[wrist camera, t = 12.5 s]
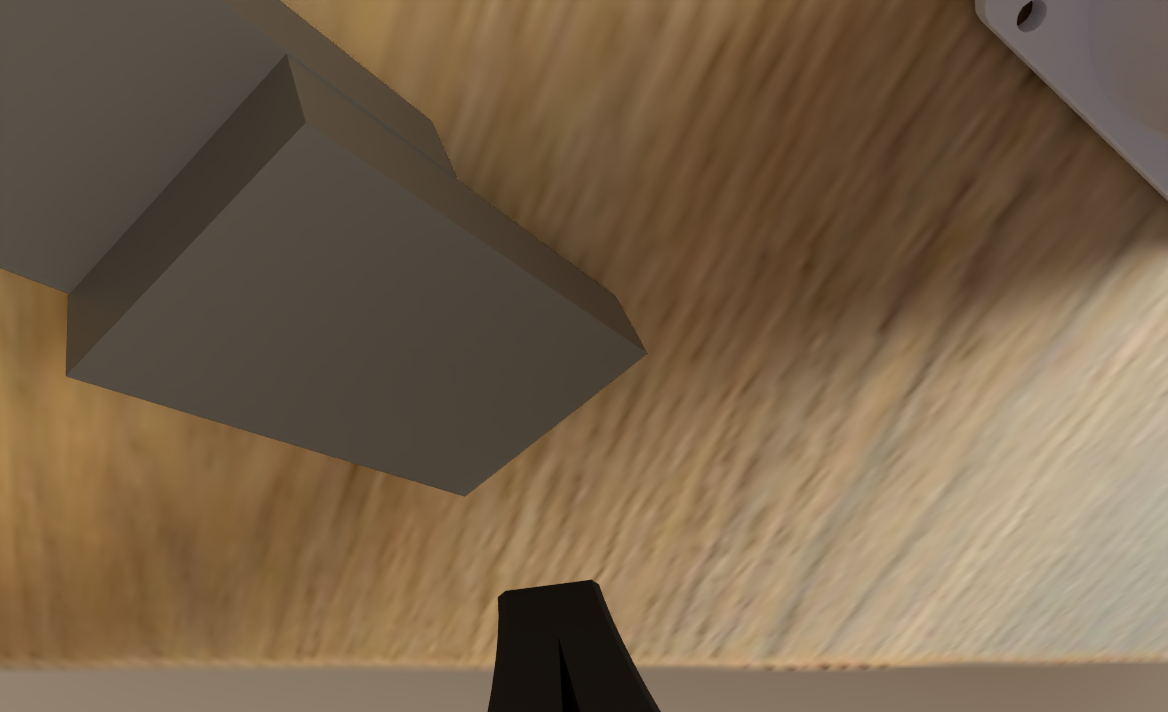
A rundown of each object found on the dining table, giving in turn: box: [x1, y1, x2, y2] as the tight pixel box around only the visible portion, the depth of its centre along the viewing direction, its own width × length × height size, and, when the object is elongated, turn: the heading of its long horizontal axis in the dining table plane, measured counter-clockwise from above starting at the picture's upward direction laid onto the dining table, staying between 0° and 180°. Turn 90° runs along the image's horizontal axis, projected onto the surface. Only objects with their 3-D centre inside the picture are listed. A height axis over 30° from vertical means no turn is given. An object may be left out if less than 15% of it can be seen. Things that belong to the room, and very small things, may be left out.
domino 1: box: [0, 0, 457, 294], centre depth 11 cm, size 2×5×8 cm
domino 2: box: [66, 54, 648, 496], centre depth 14 cm, size 2×5×8 cm
